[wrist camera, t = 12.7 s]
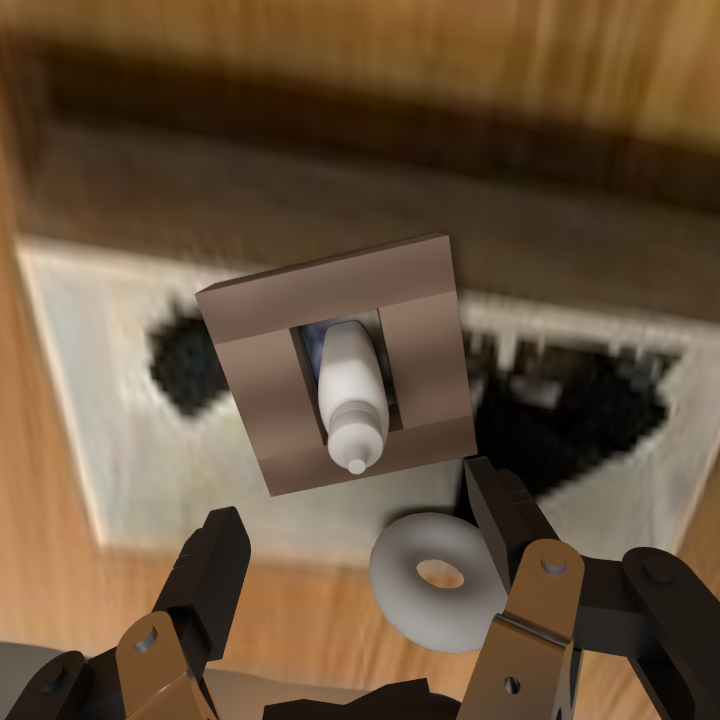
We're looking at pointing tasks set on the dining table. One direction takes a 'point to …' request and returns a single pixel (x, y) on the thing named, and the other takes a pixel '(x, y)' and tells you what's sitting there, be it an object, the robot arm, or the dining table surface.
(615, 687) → the dining table surface
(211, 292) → the walnut socket block
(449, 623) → the donut
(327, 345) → the eye dropper bottle
